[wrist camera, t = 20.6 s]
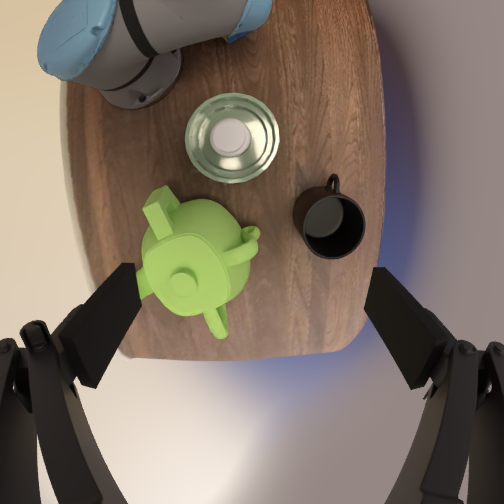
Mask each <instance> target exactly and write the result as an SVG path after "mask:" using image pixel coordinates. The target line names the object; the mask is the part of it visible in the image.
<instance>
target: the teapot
mask: <svg viewBox="0 0 504 504" xmlns="http://www.w3.org/2000/svg"><path fill="white" fill-rule="evenodd" d="M142 209H143V211H144V213H145V215H146V217H147V219H148V221H149V223H150V225H149V227H148V228H147V230H146V232H145V235H144V237H143V241H142V260H143V266H142V267H141V268H140V269H139V270H138V271H137V273H136V277H137V283H138V288H139V294H140V299H143V298H145V297H146V296H148V295H150V294H152V293H155V294H156V296H157V297H158V298H159V300H160V301H161V302H162V303H163V304H164V305H165V306H166V307H167V308H168V309H169V310H170V311H172V312H174V313H175V314H178V315H181V316H192V315H197V314H200V313H203V315H204V317H205V320H206V322H207V324H208V326H209V328H210V330H211V332H212V333H213V335H214V336H215V337H216V338H218V339H223V338H226V337H227V335H228V319H227V312H226V306H225V303H227V302H228V301H230V300H232V299H233V298H234V297H236V296H237V295H238V294H239V293H240V292H241V290H242V289H243V288H244V286H245V284H246V282H247V280H248V277H249V273H250V259H251V258H253V257H254V256H255V255H256V254H257V252H258V243H257V241H256V240H257V239H258V238H259V237H260V231H259V229H258V228H257V227H256V226H248V227H245V228H243V229H241V227H240V226H239V224H238V222H237V221H236V220H235V219H234V217H233V216H232V215H231V214H230V213H229V212H228V211H227V210H226V209H225V208H224V207H223V206H221V205H220V204H218V203H217V202H215V201H212V200H208V199H196V200H191V201H188V202H184V203H180V202H179V201H178V199H177V198H176V197H175V195H174V194H173V193H172V191H171V190H170V189H169V187H168V186H167V185H165V186H163V187H161V188H159V189H156V190H154V191H152V193H151V195H150V196H149V198H148V200H147V201H146V203H145V205H144V206H143V208H142Z"/></svg>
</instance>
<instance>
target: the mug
mask: <svg viewBox="0 0 504 504" xmlns="http://www.w3.org/2000/svg"><path fill="white" fill-rule="evenodd" d="M333 180H334V189H332V183H333ZM339 186H340V184H339V178H338V175H336V174H332V175H331V176H330V177H329V179H328V181H327V186H326V187H322V186H319V187H313V188H310V189H308V190H307V191H305V192H304V193H302V194H301V195H300V197H299V198H298V199H297V201H296V203H295V205H294V209H293V220H294V224H295V226H296V228H297V230H298V232H299V233H300V235H301V237H302V239H303V240H304V242H305V244H306V245H307V247H308V248H309V249H310V251H311V252H313V253H314V254H315V255H317V256H319V257H321V258H324V259H339V258H342V257H345V256H347V255H349V254H350V253H352V252H353V251H354V250H355V249H356V248H357V247H358V245H359V244H360V242H361V241H362V238H363V236H364V233H365V218H364V214H363V212H362V210H361V208H360V207H359V205H358V204H357V203H356V202H355V201H354V200H352V199H351V198H349V197H347V196H345V195H343V194H341V193H339V191H340V190H339Z"/></svg>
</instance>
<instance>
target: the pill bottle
mask: <svg viewBox="0 0 504 504" xmlns="http://www.w3.org/2000/svg"><path fill="white" fill-rule="evenodd" d="M210 142H211V145H212V147H213V149H214V150H215V151H216V152H217V153H218V154H220V155H221V156H224V157H236V156H240V155H242V154H243V153H245V152H246V151H247V149H248V148H249V146H250V142H251V134H250V131H249V129H248V127H247V126H246V125H245V124H244V123H243V122H242V121H240V120H237V119H233V118H228V119H224V120H221V121H220V122H218V123H217V124H216V125H215V126H214V127H213V129H212V131H211V134H210Z"/></svg>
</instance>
